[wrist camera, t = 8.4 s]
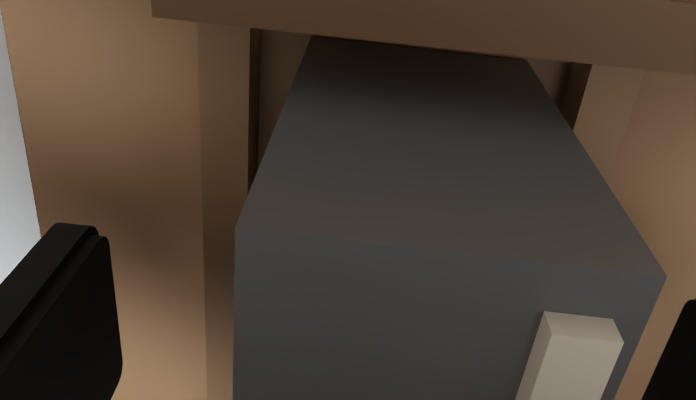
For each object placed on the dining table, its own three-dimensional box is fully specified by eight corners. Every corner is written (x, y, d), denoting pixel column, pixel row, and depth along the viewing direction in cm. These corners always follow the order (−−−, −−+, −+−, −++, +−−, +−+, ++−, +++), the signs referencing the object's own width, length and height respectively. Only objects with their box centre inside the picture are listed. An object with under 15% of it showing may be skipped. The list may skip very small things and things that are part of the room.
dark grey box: (311, 36, 10) (228, 245, 5) (527, 60, 10) (682, 299, 5) (286, 384, 14) (224, 715, 9) (442, 401, 14) (477, 744, 9)
